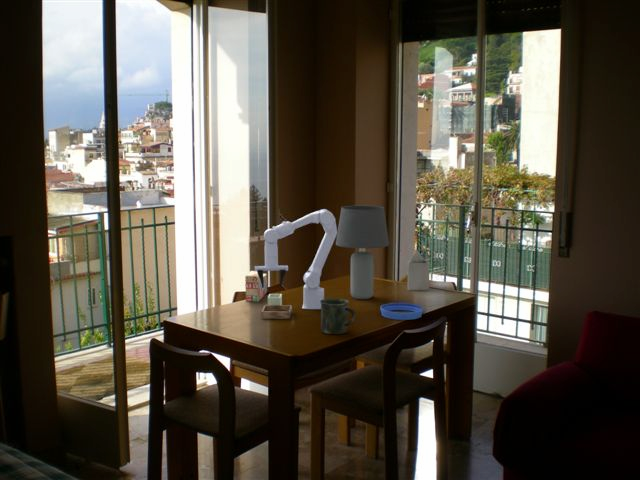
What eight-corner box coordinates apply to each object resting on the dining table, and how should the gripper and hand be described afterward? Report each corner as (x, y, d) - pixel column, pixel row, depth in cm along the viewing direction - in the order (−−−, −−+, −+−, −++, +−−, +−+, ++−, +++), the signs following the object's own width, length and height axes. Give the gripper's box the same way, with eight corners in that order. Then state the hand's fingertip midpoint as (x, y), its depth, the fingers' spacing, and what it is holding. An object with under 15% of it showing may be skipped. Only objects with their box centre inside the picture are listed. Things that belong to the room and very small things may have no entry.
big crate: (292, 312, 298) (292, 305, 297) (290, 319, 286) (290, 312, 285) (264, 311, 298) (264, 305, 298) (261, 318, 286) (261, 311, 286)
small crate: (281, 307, 307) (281, 293, 306) (280, 311, 300) (280, 297, 299) (269, 306, 307) (269, 293, 306) (267, 310, 300) (267, 297, 299)
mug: (329, 326, 275) (329, 296, 273) (361, 331, 267) (361, 301, 266) (314, 332, 266) (314, 302, 264) (347, 338, 258) (347, 306, 256)
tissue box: (421, 292, 338) (422, 253, 336) (407, 290, 343) (407, 252, 341) (436, 287, 351) (437, 249, 349) (422, 285, 356) (423, 248, 353)
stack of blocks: (254, 291, 340) (254, 267, 338) (267, 292, 339) (267, 267, 337) (245, 301, 319) (245, 275, 317) (258, 301, 318) (258, 275, 316)
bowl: (395, 322, 281) (395, 314, 281) (372, 313, 297) (372, 305, 297) (431, 317, 290) (431, 309, 289) (407, 308, 305) (407, 301, 305)
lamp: (375, 290, 342) (376, 204, 336) (397, 301, 319) (398, 209, 313) (328, 293, 334) (328, 205, 329) (346, 305, 311) (346, 210, 305)
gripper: (287, 254, 305) (287, 284, 307) (254, 255, 304) (255, 285, 306) (288, 257, 298) (288, 287, 300) (254, 257, 297) (255, 288, 299)
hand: (271, 286), depth 303 cm, fingers open, 7 cm apart
